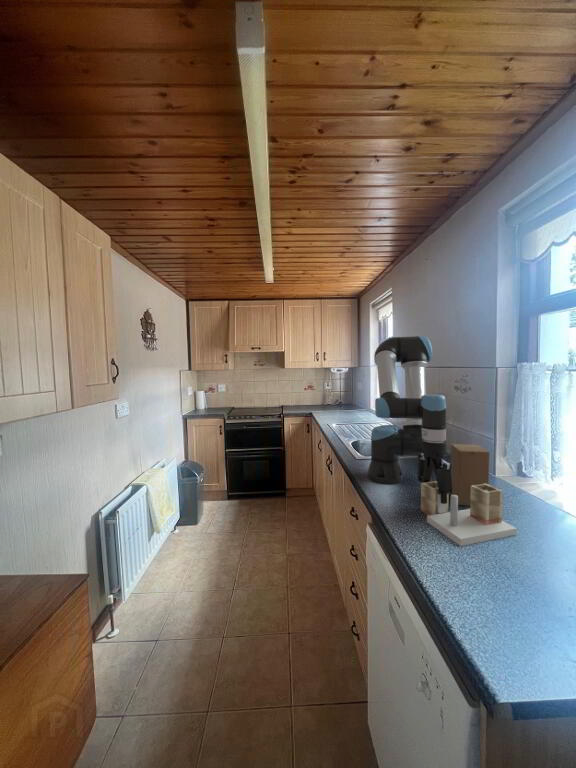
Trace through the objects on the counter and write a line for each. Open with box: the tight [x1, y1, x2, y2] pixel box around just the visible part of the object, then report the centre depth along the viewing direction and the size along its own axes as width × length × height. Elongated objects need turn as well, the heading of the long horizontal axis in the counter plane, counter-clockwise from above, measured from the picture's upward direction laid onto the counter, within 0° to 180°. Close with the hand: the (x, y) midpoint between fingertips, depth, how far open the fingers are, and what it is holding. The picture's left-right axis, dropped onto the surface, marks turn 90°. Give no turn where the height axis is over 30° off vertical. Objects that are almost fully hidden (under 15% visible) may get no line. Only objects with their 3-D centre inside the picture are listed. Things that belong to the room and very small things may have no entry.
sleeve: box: [420, 480, 450, 517], centre depth 107 cm, size 6×6×10 cm
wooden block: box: [449, 443, 490, 507], centre depth 116 cm, size 10×10×20 cm
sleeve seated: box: [469, 484, 504, 525], centre depth 99 cm, size 6×6×10 cm
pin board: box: [426, 490, 518, 547], centre depth 97 cm, size 14×20×11 cm
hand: (434, 507), depth 107 cm, fingers open, 6 cm apart
